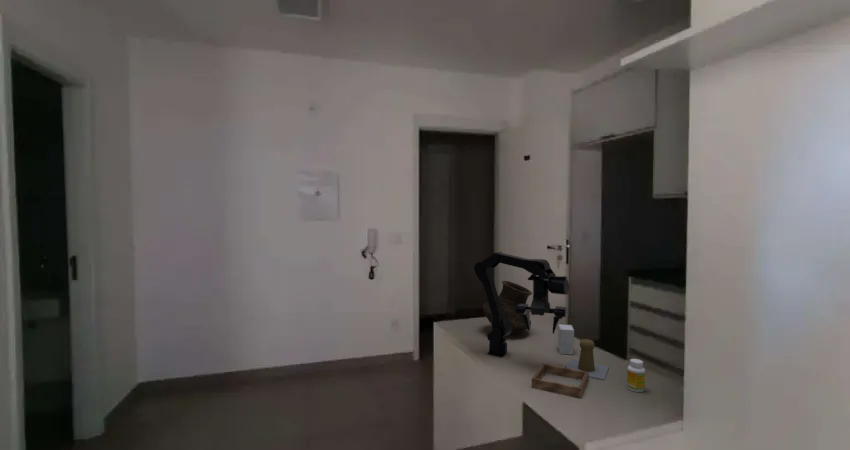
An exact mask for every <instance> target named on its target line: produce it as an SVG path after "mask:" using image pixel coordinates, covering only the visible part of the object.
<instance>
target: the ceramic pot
mask: <svg viewBox="0 0 850 450" xmlns="http://www.w3.org/2000/svg"><path fill="white" fill-rule="evenodd" d="M501 284H502V289H501V291H500V294H498V297H499V300H500V304H501V307H502V310H503V313H504V315H505V316H506V317H510V319H511V323H512V325H513V326H512V331H511V333H510V334H514V333H521V332H525V331H528V328H527V325H526V323H525V320H524V318H523V317H522V316H520V315H519V314H520V313H516V306H517V305H519V304H527V302H528V298H529V297H530V296H531V295H532V296H533V291H531V290H530V289H528V288H526V287H524V286H522V285H520V284H518V283H515V282H512V281H508V280H502V281H501ZM482 310H483V313H484V315H485V317H486V319H487V320H488V322H489V323H490V325H492V314H491V310H490V307H489V304H488V301H485V303H484V304H483V305H482ZM531 326H532V321H531V320H530V328H531Z"/></svg>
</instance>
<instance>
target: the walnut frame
mask: <svg viewBox="0 0 850 450" xmlns="http://www.w3.org/2000/svg"><path fill="white" fill-rule="evenodd" d="M545 374H549V375H554V376H555V375H556V376H559V377H563V378H569V377H570V378H571V379H574V378H575V380H578V379H581V380H580V383H579V385H578V386H574V385H569V384H565V383H560V382H555V381H552V380H551V381H550V380H546V379H542V378H543V376H544V375H545ZM570 378H569V379H570ZM589 378H590V377H589V372H585V371H580V370H575V369H570V368H566V367H563V366H559V365H553V364H548V363H542V364H541V366H539V369H537V371H535V373H534V374H533V376H532V378H531V388H534V389H539V390H543V391H546V392H551V393H557V394H561V395H565V396H570V397H574V398H579V399H581V398H582V396H583V394H584V392H585V389H586V387H587V385H588V382H589Z"/></svg>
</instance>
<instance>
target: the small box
mask: <svg viewBox="0 0 850 450" xmlns="http://www.w3.org/2000/svg"><path fill="white" fill-rule="evenodd" d="M557 326H558V327H557V330H558V331H557V332H558V334H557V336H558V337H557V349H558V351H559V354H560V355H575V354H574V353H575V329H574V327H573V325H572V324H557Z"/></svg>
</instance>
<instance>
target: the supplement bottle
mask: <svg viewBox="0 0 850 450" xmlns="http://www.w3.org/2000/svg"><path fill="white" fill-rule="evenodd" d="M626 375H627V376H626V378H627V379H626V388H627V389H628V390H630V391H632V392H635V393H642V392H644V391H645V387H646V386H645V385H646V383H645V382H646V369H645V367H644V361H643V360H641V359H638V358H631V359H630V360H629V365H628V366H627V374H626Z"/></svg>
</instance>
